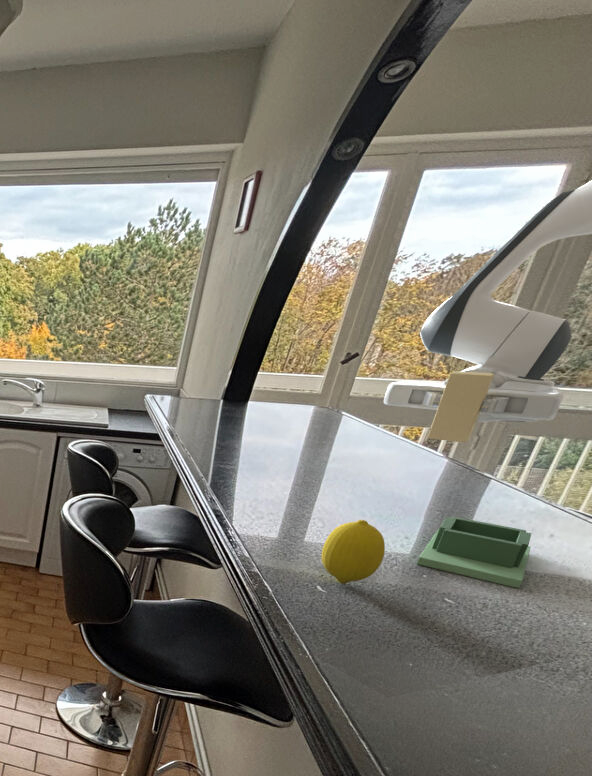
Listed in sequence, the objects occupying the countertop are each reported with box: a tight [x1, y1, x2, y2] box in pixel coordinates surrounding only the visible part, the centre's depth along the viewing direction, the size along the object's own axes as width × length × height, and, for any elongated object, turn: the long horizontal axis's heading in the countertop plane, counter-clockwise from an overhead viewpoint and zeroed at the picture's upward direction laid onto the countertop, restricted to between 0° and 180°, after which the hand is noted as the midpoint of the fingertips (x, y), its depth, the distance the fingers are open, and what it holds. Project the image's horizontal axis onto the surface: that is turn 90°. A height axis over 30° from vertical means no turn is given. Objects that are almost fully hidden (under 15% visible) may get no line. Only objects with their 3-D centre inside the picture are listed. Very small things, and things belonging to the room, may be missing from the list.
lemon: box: [321, 519, 386, 585], centre depth 68 cm, size 6×6×8 cm
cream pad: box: [427, 370, 494, 444], centre depth 91 cm, size 4×4×10 cm
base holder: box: [416, 516, 532, 589], centre depth 76 cm, size 16×9×4 cm, turn 131°
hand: (460, 403), depth 90 cm, fingers closed on cream pad, 4 cm apart
